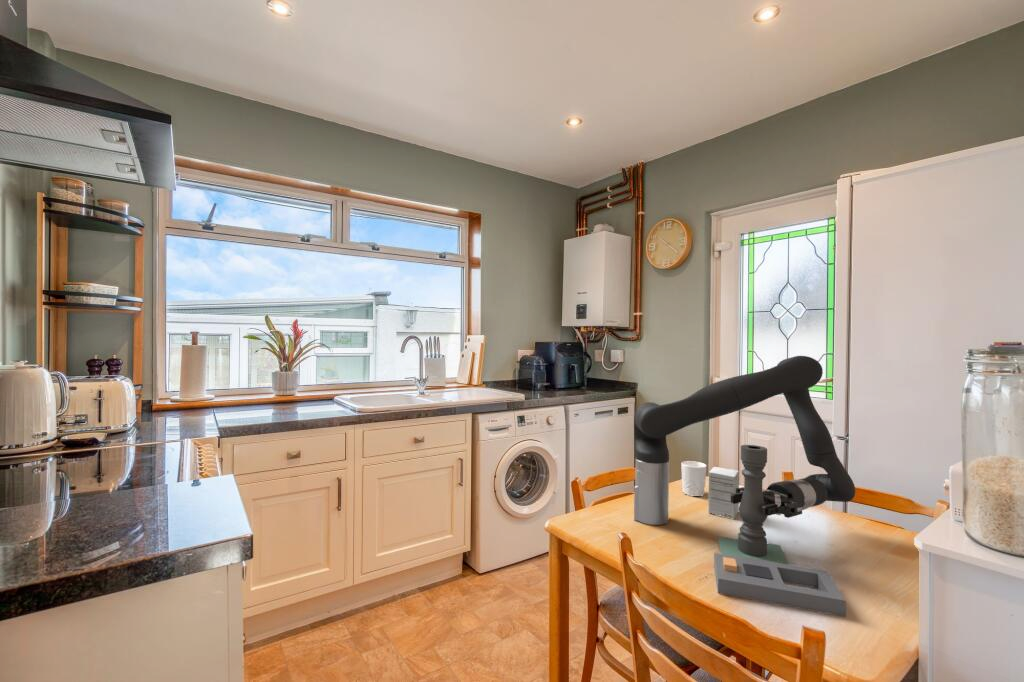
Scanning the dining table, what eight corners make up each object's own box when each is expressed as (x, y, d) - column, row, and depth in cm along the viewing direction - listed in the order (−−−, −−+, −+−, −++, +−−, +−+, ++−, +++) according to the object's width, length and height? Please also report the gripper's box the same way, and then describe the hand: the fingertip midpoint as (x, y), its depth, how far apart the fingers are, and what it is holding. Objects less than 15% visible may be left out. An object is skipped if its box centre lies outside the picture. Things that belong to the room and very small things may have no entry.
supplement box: (713, 506, 142) (713, 466, 142) (739, 512, 138) (739, 470, 138) (707, 513, 136) (708, 471, 136) (734, 519, 132) (735, 476, 132)
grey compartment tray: (718, 593, 94) (718, 572, 94) (713, 565, 105) (714, 547, 105) (845, 616, 86) (846, 594, 86) (826, 584, 97) (826, 564, 97)
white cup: (676, 490, 157) (677, 461, 157) (698, 489, 158) (699, 460, 158) (687, 498, 149) (687, 467, 149) (710, 497, 150) (711, 467, 150)
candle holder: (770, 558, 107) (772, 451, 106) (742, 555, 108) (743, 449, 108) (761, 546, 113) (763, 445, 112) (734, 543, 114) (736, 443, 114)
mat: (722, 561, 107) (722, 557, 107) (718, 540, 118) (718, 536, 118) (790, 572, 102) (791, 568, 102) (779, 549, 113) (779, 545, 113)
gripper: (765, 473, 123) (722, 480, 116) (820, 489, 110) (775, 499, 103) (765, 501, 123) (721, 510, 116) (819, 520, 110) (774, 532, 103)
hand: (747, 505), depth 109 cm, fingers open, 8 cm apart
